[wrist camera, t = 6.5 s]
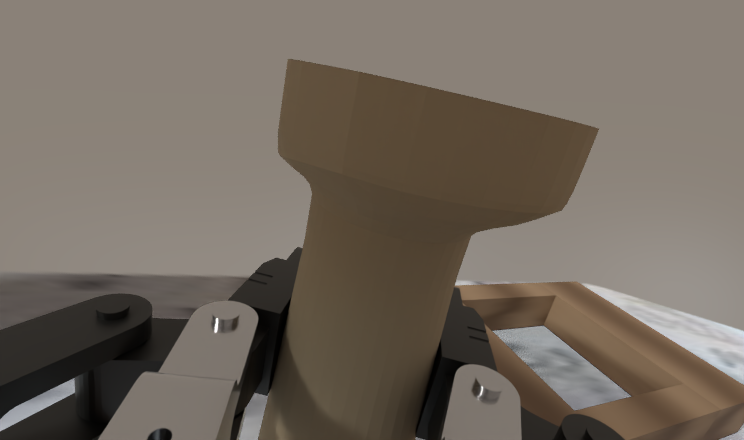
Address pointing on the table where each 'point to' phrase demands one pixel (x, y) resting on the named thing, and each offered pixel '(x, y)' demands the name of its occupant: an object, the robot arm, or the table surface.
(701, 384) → the wooden rectangular frame
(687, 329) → the table surface
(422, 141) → the handle
